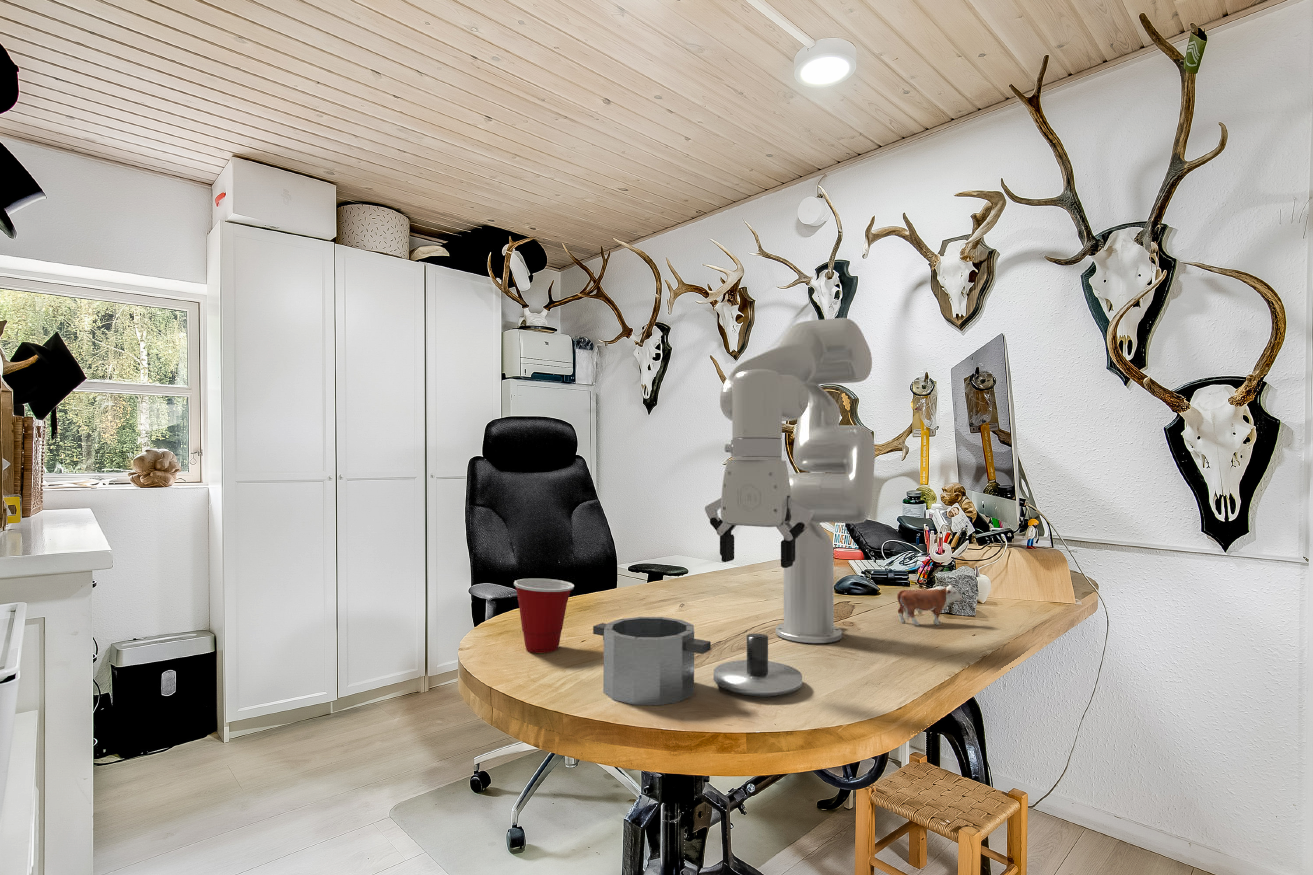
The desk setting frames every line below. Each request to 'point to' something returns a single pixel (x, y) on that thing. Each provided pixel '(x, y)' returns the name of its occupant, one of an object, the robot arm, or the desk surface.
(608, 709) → the desk surface
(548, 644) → the plastic cup
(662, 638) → the pot
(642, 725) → the desk surface
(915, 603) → the bull figurine
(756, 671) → the lid
